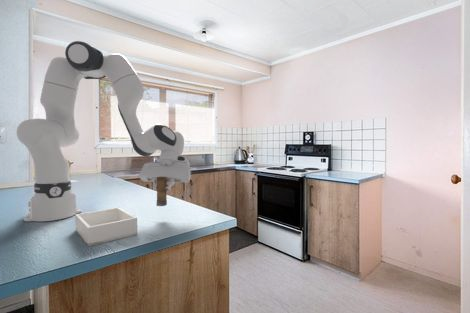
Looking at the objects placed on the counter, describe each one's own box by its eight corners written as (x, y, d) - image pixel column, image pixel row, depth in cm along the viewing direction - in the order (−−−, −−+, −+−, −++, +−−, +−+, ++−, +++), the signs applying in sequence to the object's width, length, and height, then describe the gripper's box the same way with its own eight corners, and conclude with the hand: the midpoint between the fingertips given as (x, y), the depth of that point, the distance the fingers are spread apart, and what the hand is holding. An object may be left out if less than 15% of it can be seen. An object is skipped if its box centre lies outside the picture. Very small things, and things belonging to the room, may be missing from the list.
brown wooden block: (158, 203, 98) (158, 176, 98) (167, 203, 98) (168, 176, 98) (155, 206, 95) (155, 177, 94) (164, 206, 95) (165, 178, 94)
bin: (75, 230, 84) (75, 214, 83) (119, 221, 93) (118, 207, 93) (88, 246, 70) (88, 227, 70) (137, 234, 80) (137, 217, 80)
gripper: (142, 156, 103) (132, 183, 94) (191, 158, 102) (185, 185, 93) (147, 166, 107) (137, 193, 98) (193, 167, 107) (188, 194, 98)
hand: (161, 189), depth 96 cm, fingers closed on brown wooden block, 4 cm apart
